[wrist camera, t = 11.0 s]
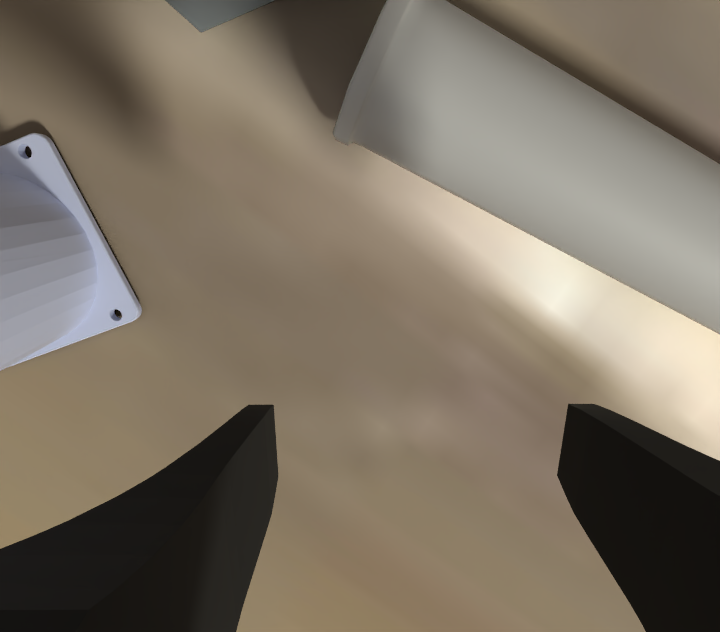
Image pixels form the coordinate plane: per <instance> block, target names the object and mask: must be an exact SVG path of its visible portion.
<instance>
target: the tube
mask: <svg viewBox="0 0 720 632" xmlns="http://www.w3.org/2000/svg"><path fill="white" fill-rule="evenodd" d="M333 135H334V137H335V139H336V140H337V141H339V142H341V143H343V144H345V145H347V146H348V145H349V144H351V143H356V144H358V145H360V146H363V147H365V148H367V149H368V150H370V151H372V152H374V153H376V154H378V155H380V156H382V157H384V158H386V159H388V160H389V161H391V162H393V163H395V164H397V165H399V166H401V167H403V168H405V169H407V170H408V171H410V172H412V173H414V174H416V175H418V176H420V177H422V178H424V179H426V180H427V181H429V182H431V183H433V184H435V185H437V186H439V187H441V188H443V189H445V190H446V191H448V192H450V193H452V194H454V195H456V196H458V197H460V198H462V199H464V200H465V201H467V202H469V203H471V204H473V205H475V206H477V207H479V208H481V209H483V210H484V211H486V212H488V213H490V214H492V215H494V216H496V217H498V218H500V219H502V220H503V221H505V222H507V223H509V224H511V225H513V226H515V227H517V228H519V229H521V230H522V231H524V232H526V233H528V234H530V235H532V236H534V237H536V238H538V239H540V240H541V241H543V242H545V243H547V244H549V245H551V246H553V247H555V248H557V249H559V250H560V251H562V252H564V253H566V254H568V255H570V256H572V257H574V258H576V259H578V260H579V261H581V262H583V263H585V264H587V265H589V266H591V267H593V268H595V269H597V270H598V271H600V272H602V273H604V274H606V275H608V276H610V277H612V278H614V279H616V280H617V281H619V282H621V283H623V284H625V285H627V286H629V287H631V288H633V289H635V290H636V291H638V292H640V293H642V294H644V295H646V296H648V297H650V298H652V299H654V300H655V301H657V302H659V303H661V304H663V305H665V306H667V307H669V308H671V309H673V310H675V311H676V312H678V313H680V314H682V315H684V316H686V317H688V318H690V319H692V320H694V321H695V322H697V323H699V324H701V325H703V326H705V327H707V328H709V329H711V330H713V331H714V332H716V333H718V334H720V164H719V163H717V162H715V161H714V160H712V159H710V158H709V157H707V156H705V155H704V154H702V153H700V152H699V151H697V150H695V149H694V148H692V147H690V146H688V145H687V144H685V143H683V142H682V141H680V140H678V139H677V138H675V137H673V136H672V135H670V134H668V133H667V132H665V131H663V130H662V129H660V128H658V127H657V126H655V125H653V124H652V123H650V122H648V121H647V120H645V119H643V118H642V117H640V116H638V115H637V114H635V113H633V112H632V111H630V110H628V109H627V108H625V107H623V106H622V105H620V104H618V103H617V102H615V101H613V100H611V99H610V98H608V97H606V96H605V95H603V94H601V93H600V92H598V91H596V90H595V89H593V88H591V87H590V86H588V85H586V84H585V83H583V82H581V81H580V80H578V79H576V78H575V77H573V76H571V75H570V74H568V73H566V72H565V71H563V70H561V69H560V68H558V67H556V66H555V65H553V64H551V63H550V62H548V61H546V60H545V59H543V58H541V57H540V56H538V55H536V54H534V53H533V52H531V51H529V50H528V49H526V48H524V47H523V46H521V45H519V44H518V43H516V42H514V41H513V40H511V39H509V38H508V37H506V36H504V35H503V34H501V33H499V32H498V31H496V30H494V29H493V28H491V27H489V26H488V25H486V24H484V23H483V22H481V21H479V20H478V19H476V18H474V17H473V16H471V15H469V14H468V13H466V12H464V11H462V10H461V9H459V8H457V7H456V6H454V5H452V4H451V3H449V2H447V1H446V0H387V1H386V3H385V5H384V7H383V9H382V10H381V13H380V15H379V17H378V20H377V22H376V24H375V26H374V29H373V31H372V33H371V36H370V38H369V40H368V42H367V45H366V47H365V49H364V52H363V54H362V56H361V58H360V61H359V63H358V65H357V68H356V70H355V72H354V74H353V77H352V79H351V81H350V84H349V86H348V89H347V92H346V95H345V98H344V101H343V104H342V107H341V110H340V113H339V115H338V118H337V121H336V124H335V127H334V130H333Z"/></svg>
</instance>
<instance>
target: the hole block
mask: <svg viewBox="0 0 720 632" xmlns="http://www.w3.org/2000/svg"><path fill="white" fill-rule="evenodd" d="M165 1H166V2H168V3H169V4H170V5H171V6H172V7H173V8H174V9H175V10H177V11H178V12H179V13H180V14H181V15H182V16H183V17H184V18H185V19H187V20H188V21H189V22H190V23H191V24H192V25H193V26H194V27H195V28H197V29H198V30H199V31H200V32H203V31H206V30H208V29H210V28H213V27H215V26H217V25H220V24H222V23H224V22H226V21H229V20H231V19H233V18H236V17H238V16H240V15H243V14H245V13H247V12H249V11H252V10H254V9H256V8H259V7H261V6H263V5H266V4H268V3H270V2H272V1H275V0H165Z"/></svg>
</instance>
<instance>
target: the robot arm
mask: <svg viewBox="0 0 720 632" xmlns="http://www.w3.org/2000/svg"><path fill="white" fill-rule="evenodd" d="M27 146H29V148H30V149H31V151H32V155H31V157H30V158H29V157H28V156H27V155H26V153H25V148H26V147H27ZM115 309H117V310H119V311H120V312H121V313H122V318H119V317H117V316H116V315H115V312H114V311H115ZM141 312H142V309H141V305H140V303H139V302H138V300H137V298H136V296H135V294H134V292H133V290H132V289H131V287H130V285H129V283H128V281H127V279H126V277H125V275H124V274H123V272H122V270H121V268H120V266H119V264H118V262H117V261H116V259H115V257H114V255H113V253H112V251H111V249H110V247H109V246H108V244H107V242H106V240H105V238H104V236H103V234H102V233H101V231H100V229H99V227H98V225H97V223H96V221H95V219H94V218H93V216H92V214H91V212H90V210H89V208H88V206H87V205H86V203H85V201H84V199H83V197H82V195H81V193H80V191H79V190H78V188H77V186H76V184H75V182H74V180H73V178H72V177H71V175H70V173H69V171H68V169H67V167H66V165H65V163H64V162H63V160H62V158H61V156H60V154H59V152H58V150H57V149H56V147H55V145H54V143H53V142H52V140H51V139H50V138H49V137H48V136H46V135H44V134H39V133H31V134H28V135H26V136H23V137H21V138H19V139H16V140H14V141H12V142H9V143H7V144H5V145H2V146H0V371H1V370H3V369H5V368H7V367H10V366H13V365H15V364H18V363H21V362H23V361H26V360H29V359H32V358H34V357H37V356H40V355H42V354H45V353H48V352H51V351H53V350H56V349H59V348H61V347H64V346H67V345H70V344H72V343H75V342H78V341H80V340H83V339H86V338H89V337H91V336H94V335H97V334H99V333H102V332H105V331H108V330H110V329H113V328H116V327H118V326H121V325H124V324H127V323H129V322H132V321H134V320H135V319H137V318H138V317H140V315H141ZM557 476H558V478H559V481H560V483H561V485H562V488H563V490H564V492H565V495H566V497H567V499H568V501H569V503H570V506H571V508H572V510H573V512H574V514H575V516H576V517H577V519H578V521H579V522H580V524H581V526H582V527H583V529H584V530H585V532H586V534H587V535H588V537H589V539H590V540H591V542H592V543H593V545H594V547H595V548H596V550H597V551H598V553H599V555H600V556H601V558H602V559H603V561H604V563H605V564H606V566H607V567H608V569H609V571H610V572H611V574H612V575H613V577H614V579H615V580H616V582H617V583H618V585H619V587H620V588H621V590H622V591H623V593H624V595H625V596H626V598H627V599H628V601H629V603H630V604H631V606H632V608H633V609H634V611H635V613H636V615H637V616H638V618H639V620H640V622H641V623H642V625H643V627H644V629H645V631H646V632H720V461H719V460H716V459H714V458H712V457H709V456H707V455H705V454H703V453H700V452H698V451H696V450H694V449H692V448H689V447H687V446H685V445H683V444H681V443H679V442H677V441H674V440H672V439H670V438H668V437H666V436H664V435H662V434H660V433H658V432H656V431H654V430H652V429H649V428H647V427H645V426H643V425H641V424H639V423H637V422H635V421H633V420H631V419H629V418H626V417H624V416H622V415H620V414H618V413H615V412H613V411H611V410H608V409H606V408H603V407H601V406H598V405H595V404H568V409H567V416H566V422H565V428H564V435H563V441H562V448H561V454H560V460H559V467H558V473H557ZM277 481H278V464H277V449H276V434H275V420H274V405H248V406H246V407H245V408H244V409H242V410H241V411H240V412H238V413H237V414H236V415H235V416H233V417H232V418H231V419H230V420H228V421H227V422H226V423H225V424H223V425H222V426H221V427H220V428H218V429H217V430H216V431H215V432H213V433H212V434H211V435H210V436H208V437H207V438H206V439H204V440H203V441H202V442H201V443H199V444H198V445H197V446H195V447H194V448H192V449H191V450H190V451H188V452H187V453H185V454H184V455H182V456H181V457H180V458H178V459H177V460H175V461H174V462H173V463H171V464H170V465H168V466H167V467H165V468H164V469H162V470H161V471H159V472H158V473H156V474H155V475H153V476H151V477H150V478H148V479H147V480H145V481H143V482H141V483H140V484H138V485H136V486H135V487H133V488H131V489H129V490H128V491H126V492H124V493H122V494H121V495H119V496H117V497H115V498H113V499H111V500H109V501H107V502H105V503H103V504H101V505H99V506H97V507H95V508H93V509H91V510H89V511H87V512H85V513H83V514H81V515H79V516H77V517H75V518H73V519H71V520H69V521H66V522H64V523H62V524H60V525H58V526H55V527H53V528H51V529H48V530H46V531H44V532H41V533H39V534H37V535H34V536H32V537H29V538H27V539H24V540H22V541H19V542H17V543H14V544H12V545H9V546H7V547H4V548H2V549H0V632H236V630H237V626H238V622H239V618H240V615H241V611H242V607H243V604H244V601H245V597H246V594H247V591H248V588H249V585H250V582H251V578H252V575H253V572H254V569H255V566H256V563H257V559H258V556H259V553H260V550H261V547H262V543H263V540H264V537H265V534H266V531H267V527H268V524H269V521H270V517H271V514H272V509H273V503H274V498H275V492H276V487H277Z"/></svg>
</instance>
